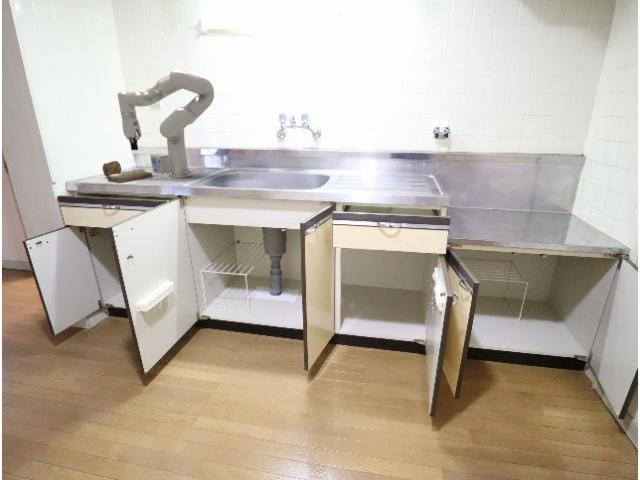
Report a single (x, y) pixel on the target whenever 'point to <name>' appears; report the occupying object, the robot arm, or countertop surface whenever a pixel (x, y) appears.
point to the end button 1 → (115, 175)
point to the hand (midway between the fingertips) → (134, 149)
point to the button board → (130, 177)
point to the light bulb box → (160, 163)
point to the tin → (111, 168)
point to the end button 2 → (138, 170)
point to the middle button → (127, 172)
